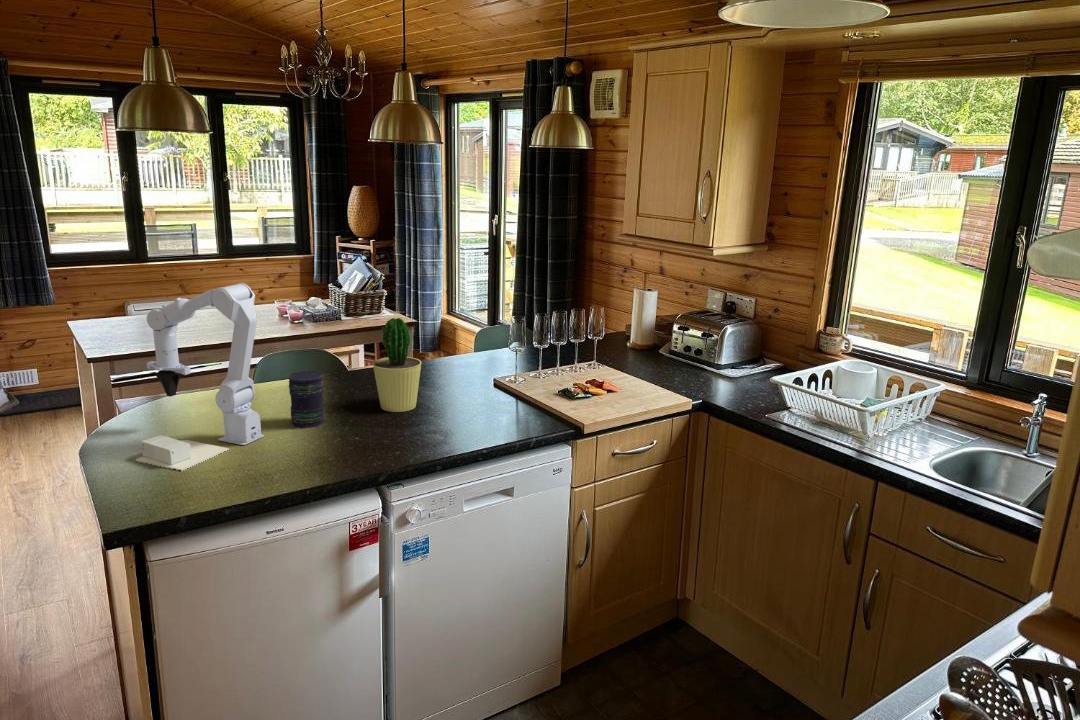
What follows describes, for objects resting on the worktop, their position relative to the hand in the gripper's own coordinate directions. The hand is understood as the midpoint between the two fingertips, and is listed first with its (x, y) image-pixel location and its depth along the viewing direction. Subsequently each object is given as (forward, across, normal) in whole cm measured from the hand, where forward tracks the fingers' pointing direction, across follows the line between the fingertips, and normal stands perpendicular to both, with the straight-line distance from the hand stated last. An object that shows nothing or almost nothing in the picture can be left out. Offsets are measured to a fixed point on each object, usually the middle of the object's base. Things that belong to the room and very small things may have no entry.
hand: (171, 395), depth 216 cm
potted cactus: (+11, +47, +46) cm, 67 cm away
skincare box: (+8, +10, -17) cm, 21 cm away
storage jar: (+11, +31, +21) cm, 39 cm away
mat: (+10, +18, -14) cm, 25 cm away
